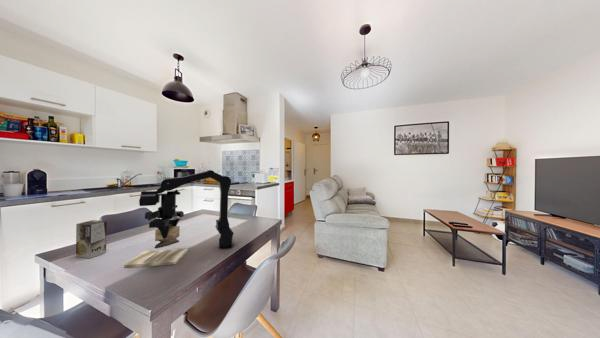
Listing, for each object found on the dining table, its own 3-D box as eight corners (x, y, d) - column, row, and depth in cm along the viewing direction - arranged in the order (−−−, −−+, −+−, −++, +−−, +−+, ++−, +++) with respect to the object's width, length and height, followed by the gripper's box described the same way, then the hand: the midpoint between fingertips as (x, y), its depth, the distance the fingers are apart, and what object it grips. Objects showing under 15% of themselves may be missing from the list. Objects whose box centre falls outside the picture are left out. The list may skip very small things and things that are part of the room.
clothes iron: (180, 242, 104) (178, 227, 102) (160, 254, 94) (157, 238, 91) (172, 239, 107) (169, 224, 104) (151, 251, 96) (148, 235, 94)
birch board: (187, 250, 92) (187, 248, 92) (175, 264, 79) (175, 261, 79) (144, 253, 88) (144, 251, 88) (123, 267, 76) (123, 265, 76)
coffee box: (107, 252, 89) (107, 220, 89) (90, 258, 83) (91, 224, 83) (92, 250, 90) (93, 219, 90) (74, 257, 84) (75, 223, 84)
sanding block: (179, 235, 88) (179, 226, 88) (174, 239, 83) (174, 229, 83) (161, 236, 86) (161, 226, 86) (155, 240, 81) (155, 230, 81)
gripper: (161, 200, 92) (160, 230, 92) (134, 208, 74) (134, 245, 74) (184, 200, 94) (183, 229, 94) (164, 208, 76) (163, 244, 76)
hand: (167, 236), depth 85 cm, fingers closed on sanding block, 5 cm apart
